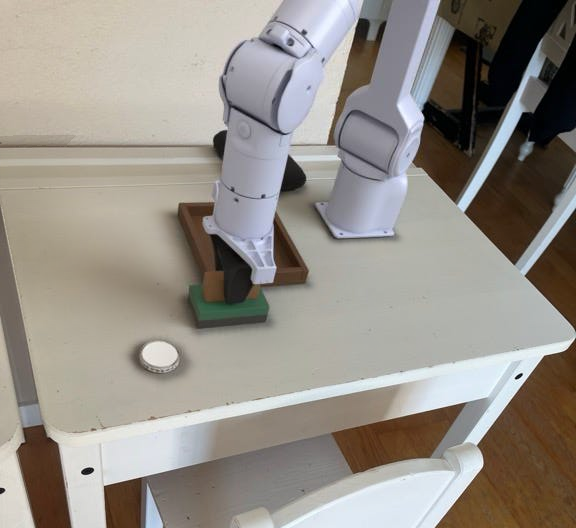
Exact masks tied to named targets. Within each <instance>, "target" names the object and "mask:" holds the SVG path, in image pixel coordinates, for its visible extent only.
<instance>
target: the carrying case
mask: <svg viewBox="0 0 576 528" xmlns="http://www.w3.org/2000/svg"><path fill="white" fill-rule="evenodd" d="M226 136H227V129H223V130H220V131H218V132H217V133H216V134H215V135H214V136H213V138H212V143H213V145H212V146H213V148H214V149H215V150H216V152H217V153H218V154H219V155H220V156H221V157H222V158H223V157H224V150H225V144H226ZM307 180H308V179H307V175H306V173H305V172H304V170H303V168H302V167H301V166H300V165H299V164H298V163H297V162H296V160H295V159H294V158H293V157H292V156H291V155H290V153H288V157H287V162H286V166H285V171H284V175H283V180H282V184H281V188H280V192H287V191H294V190H298V189H299V188H302V187H304V186H305V184H306V183H307Z"/></svg>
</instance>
